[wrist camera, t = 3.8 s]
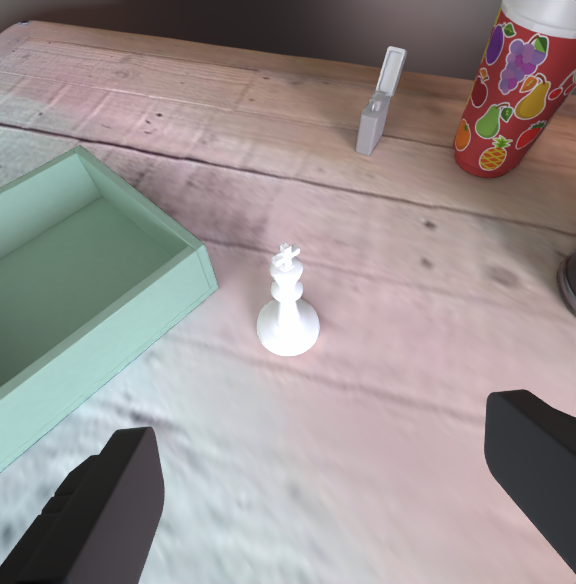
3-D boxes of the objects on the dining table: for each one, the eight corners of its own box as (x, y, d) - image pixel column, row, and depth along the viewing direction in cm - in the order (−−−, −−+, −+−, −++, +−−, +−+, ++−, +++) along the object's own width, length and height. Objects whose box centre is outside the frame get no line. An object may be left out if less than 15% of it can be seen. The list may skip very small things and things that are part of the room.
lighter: (369, 156, 39) (385, 80, 33) (354, 151, 40) (366, 75, 33) (391, 120, 43) (409, 44, 36) (376, 116, 43) (392, 40, 36)
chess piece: (244, 321, 29) (224, 239, 21) (293, 289, 31) (293, 200, 22) (281, 368, 27) (275, 299, 19) (332, 331, 29) (348, 252, 20)
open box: (108, 194, 37) (79, 144, 32) (219, 287, 31) (205, 244, 26) (-102, 324, 29) (-182, 285, 25) (-11, 481, 23) (-92, 471, 18)
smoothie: (534, 154, 39) (719, -127, 22) (507, 200, 36) (702, -92, 19) (459, 126, 42) (572, -143, 25) (427, 166, 38) (533, -115, 21)
